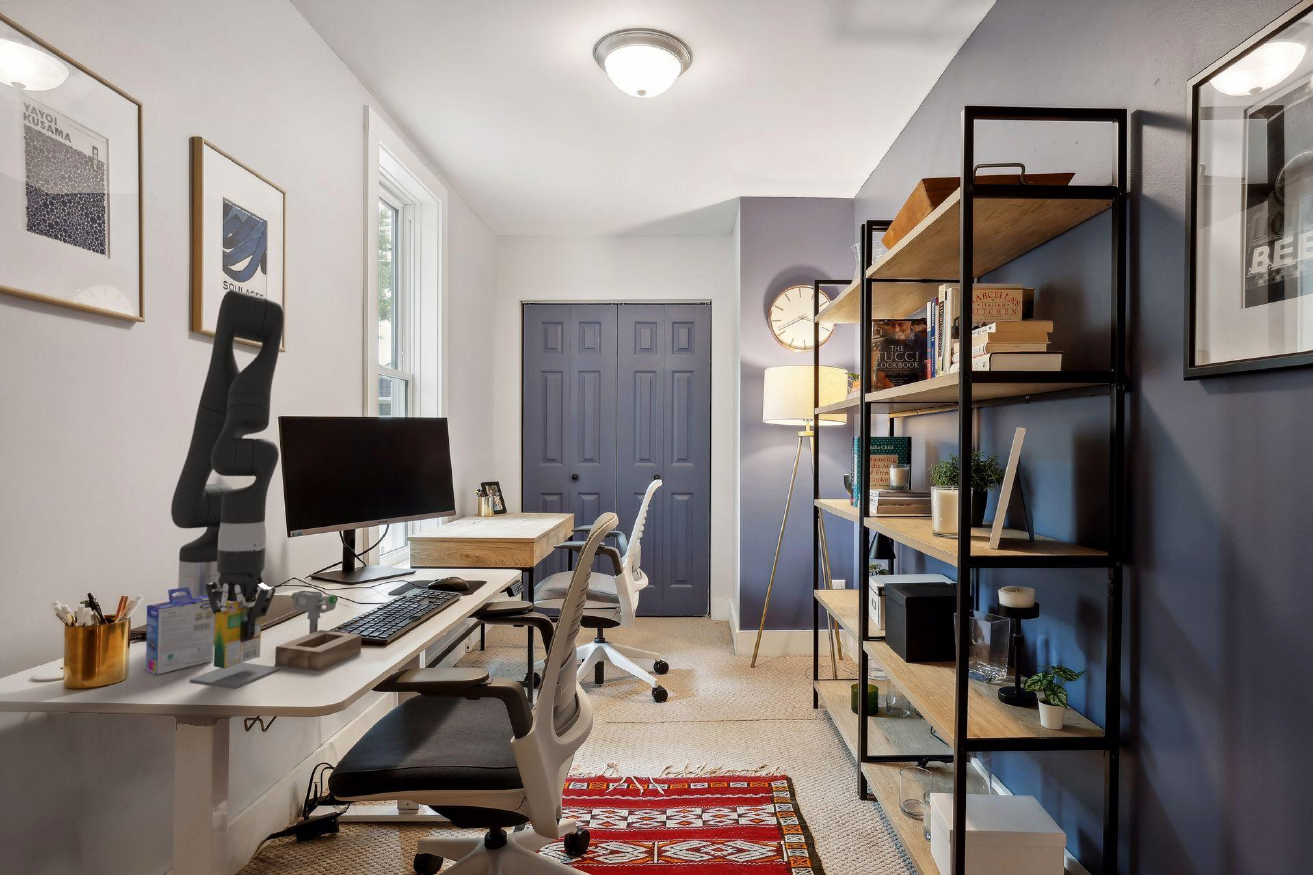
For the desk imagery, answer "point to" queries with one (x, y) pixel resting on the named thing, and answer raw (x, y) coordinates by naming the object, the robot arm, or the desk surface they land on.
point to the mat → (235, 675)
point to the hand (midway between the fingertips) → (238, 638)
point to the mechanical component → (313, 605)
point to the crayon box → (234, 638)
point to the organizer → (318, 650)
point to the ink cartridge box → (179, 632)
